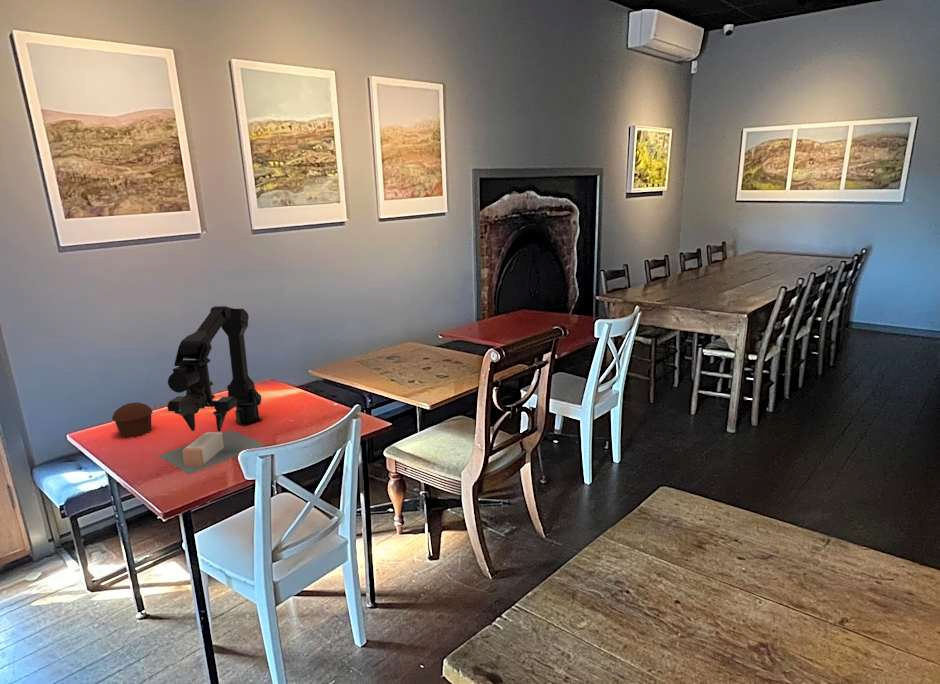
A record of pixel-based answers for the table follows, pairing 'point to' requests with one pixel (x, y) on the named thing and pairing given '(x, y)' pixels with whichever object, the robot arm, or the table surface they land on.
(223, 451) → the charcoal mat
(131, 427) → the muffin
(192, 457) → the cream block
